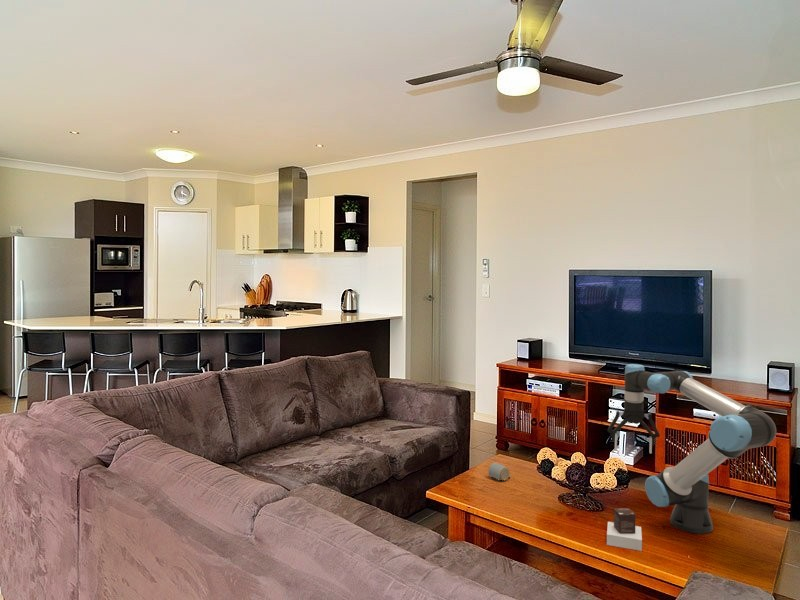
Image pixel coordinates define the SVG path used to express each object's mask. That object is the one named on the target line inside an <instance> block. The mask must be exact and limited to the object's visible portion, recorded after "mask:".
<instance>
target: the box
mask: <svg viewBox="0 0 800 600" xmlns="http://www.w3.org/2000/svg"><path fill="white" fill-rule="evenodd" d="M636 519H637V518H636V513H635V512H634V511H633V510H631V508H629V507H628V508H627V507H626V508H625V507H621V508H620V507H615V508H613V522H614V527H615V529H616V530H617V531H618V532H619V533H635V526H636Z"/></svg>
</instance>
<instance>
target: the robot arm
mask: <svg viewBox="0 0 800 600" xmlns="http://www.w3.org/2000/svg"><path fill="white" fill-rule="evenodd" d="M645 391H648V392H653V393H654V394H665V393H667V392H668V391H675V392H678V393H679V394H681V395H683V396H685V397H687V398H688V399H690V400H692V401H694V402H696V403H698V404H699V405H701V406H703V407H704V408H706V409H708V410H710V411H711V412H713V413H715V414H717V415H718V416H720V417H717V418H716V419H714V420H713V421H712V423H711V424H710V427H709V429H710V430H709V431H708V433H707V436H708V438H707V439H706V440H705V441H703V443H701V444H699V445H698V446H697V447H696V448H695V449H694V450H692V452H690V453H689V454H688V455H687V456H686V457H684V459H682V460H681V461H679V462H678V463H677V464H676V465H675V466H668V467H665V469H663V470H662V471H661V472H660V473H658V474H656V475H651V476H649V477H647V478H646V479H645V482H644V488H645V493H646V496H647V498H648V499H649V501H650V502H651V504H653V505H654V506H656V507H659V508H667V507H670V506H674V507H673V509H672V512H671V514H670V520H669V521H670V524H671V525H672V526H673V527H674V528H676V529H678V530H680V531H684V532H687V533H692V534H699V535H700V534H701V535H703V534H705V535H706V534H709V533H712V532H713V526H714V524H713V520H712V517H711V515H710V512H709V493H710V492H709V490H710V480H709V479H710V478H709V473H711V472H712V471H713V470H715V469H716V468H717V467H719V466H720V465H721V464H722V463H724V462H725V461H726V460H728V459H737V458H738V457H740V456H741V455H743V454H744V453H745V452H746V451H748V450H750V449H754V448H761V447H765V446H768V445H770V444H771V443H772V442H773V441H774V440H775V438H776V435H777V427H776V424H775V422H774V421H773V418H772V417H770V416H769V415H768V414H766V413H765V412H763V411H761V410H760V409H758V408H757V407H754V406H752V405H744V404H743V403H740V402H738V401H737V400H735V399H733V398H731V397H729V396H727V395H725V394H723V393H721V392H720V391H717V390H715V389H714V388H711V387H709V385H708V386H707V385H706V384H703V383H701V382H700V381H698V380H696V379H694V377H693V375H691V373H690V372H688V371H685V370H675V371H674V370H673V371H662V372H650V371H646V370H645V366H644V365H642V364H638V363H629V364H626V365H625V368H624V398H623V399H624V402H623V403H624V405H623V406H624V407H623V408H624V409H623V411H620V410H616V412H615V416H614V418H613V420H612V421H611V422H610V425H609V426H608V428H607V433H609V434H611V441H612V442H614V450H615V451H618V449H617V447H618V446H617V445H618V433H617V432H618V431H620V430H621V428H623V427H624V426H625V425H626V424H627V423H629V424H637V425H638V424H640V425H641V426H642V427H643V429H645V431H646V432H647V433H648V434H649V446H648V447H649V448H648V449H649V451H648V452H649V454H653V451H652V450H653V446H655V445H656V438H660V437H661V434H660V432H659V430H658V428H657V426H656V425H655V422H654V420H653V417H652V416H653V415H652V413H651V412H649V413H644V400H645V399H644V398H645V395H644V394H645ZM622 416H623V417H624V418H623V420H622V421H621V422H620V423H618V424H617V421H618V420H619V418H621V417H622ZM644 418H646V419H647V420H648V421H649V423H650V425H651V427H652V429H653V431H654V432H653V431H652V430H651V429H650V428H649V426H648V425H647V424H646V423H645V422H644V420H643V419H644ZM616 424H617V425H616ZM613 428H614V429H613Z"/></svg>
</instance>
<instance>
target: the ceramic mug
mask: <svg viewBox="0 0 800 600" xmlns="http://www.w3.org/2000/svg"><path fill="white" fill-rule="evenodd" d="M509 474H510V469H509V468H508V467H506V466H505V465H502V464H500V463H498V462H492V463H491V464H490V465H489V467H488V476H489V477H490V476H491V477H494V478H496V479H495V480H497V479H499V480H504V479H507V478H508V477H510V476H511V477H512V475H511V474H510V475H509ZM491 477H490V478H491ZM511 477H510V478H511ZM494 478H493V479H494ZM508 479H509V478H508ZM508 479H507V480H508ZM499 480H498V481H499Z"/></svg>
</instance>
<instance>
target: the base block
mask: <svg viewBox="0 0 800 600" xmlns="http://www.w3.org/2000/svg"><path fill="white" fill-rule="evenodd" d="M606 530H607V531H606V546H612V547H617V548H623V549H629V550H634V551H641V552H642V551H643V537H642V536H643V533H642V526H638V525H635V533H619V532H618V531H617V530H616V529H615V527H614V521H613V522H612V521H607V529H606Z"/></svg>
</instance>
